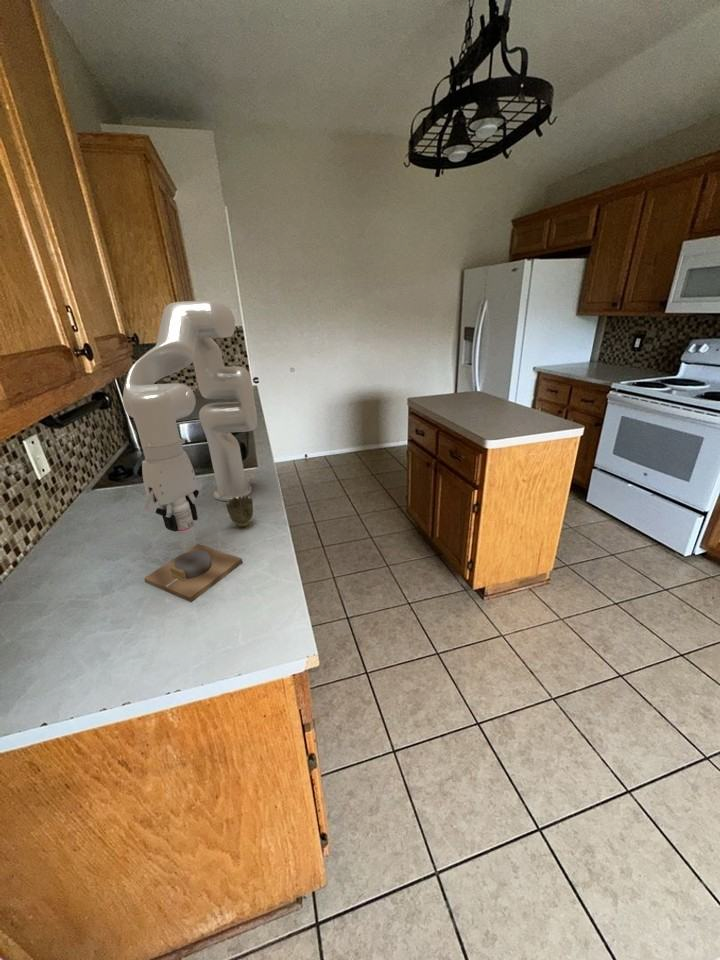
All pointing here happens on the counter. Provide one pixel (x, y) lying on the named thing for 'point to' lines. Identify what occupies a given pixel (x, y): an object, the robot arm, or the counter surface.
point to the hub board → (198, 582)
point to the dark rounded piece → (240, 510)
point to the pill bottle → (182, 515)
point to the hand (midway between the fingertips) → (182, 523)
